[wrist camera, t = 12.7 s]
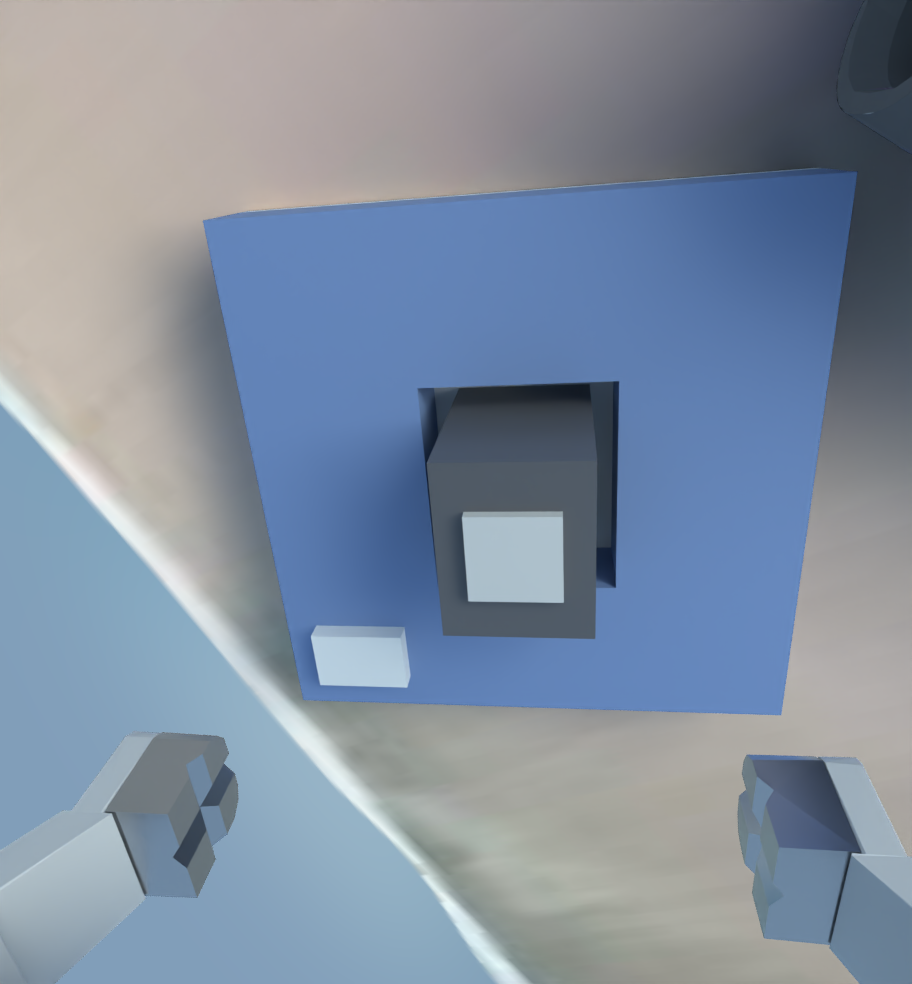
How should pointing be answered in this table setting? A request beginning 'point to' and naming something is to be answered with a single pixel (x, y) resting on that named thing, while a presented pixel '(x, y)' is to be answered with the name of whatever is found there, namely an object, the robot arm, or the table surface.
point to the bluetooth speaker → (880, 70)
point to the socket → (537, 362)
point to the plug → (516, 512)
